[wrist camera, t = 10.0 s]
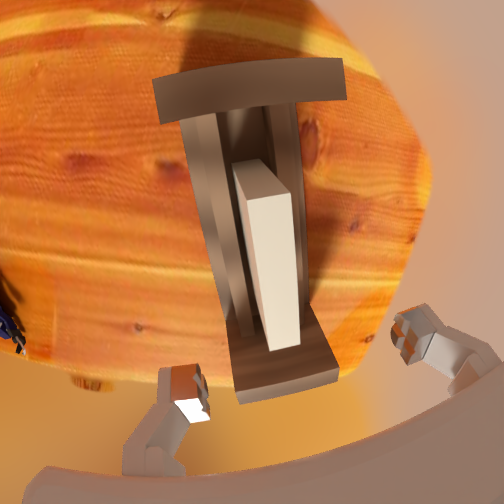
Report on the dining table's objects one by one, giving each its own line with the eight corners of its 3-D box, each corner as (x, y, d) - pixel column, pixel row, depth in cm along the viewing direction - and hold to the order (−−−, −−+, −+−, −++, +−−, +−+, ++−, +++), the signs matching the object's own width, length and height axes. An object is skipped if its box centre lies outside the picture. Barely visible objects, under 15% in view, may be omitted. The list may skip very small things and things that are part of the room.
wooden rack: (174, 89, 17) (152, 79, 9) (287, 73, 18) (342, 58, 10) (228, 328, 28) (239, 404, 21) (306, 311, 29) (337, 381, 21)
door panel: (231, 163, 20) (246, 200, 13) (259, 158, 20) (290, 192, 13) (251, 280, 25) (269, 351, 18) (274, 275, 25) (300, 344, 18)
